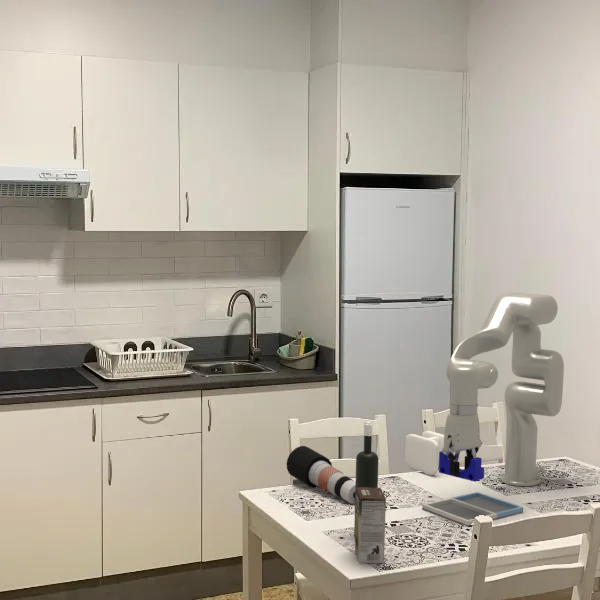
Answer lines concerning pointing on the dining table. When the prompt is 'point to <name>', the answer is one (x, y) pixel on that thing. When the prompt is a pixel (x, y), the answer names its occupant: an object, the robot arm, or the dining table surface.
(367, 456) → the wine bottle
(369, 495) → the coffee box
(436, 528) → the dining table surface
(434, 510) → the grey divided tray
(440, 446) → the organizer
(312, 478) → the telephoto camera lens
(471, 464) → the blue u-shaped cradle
